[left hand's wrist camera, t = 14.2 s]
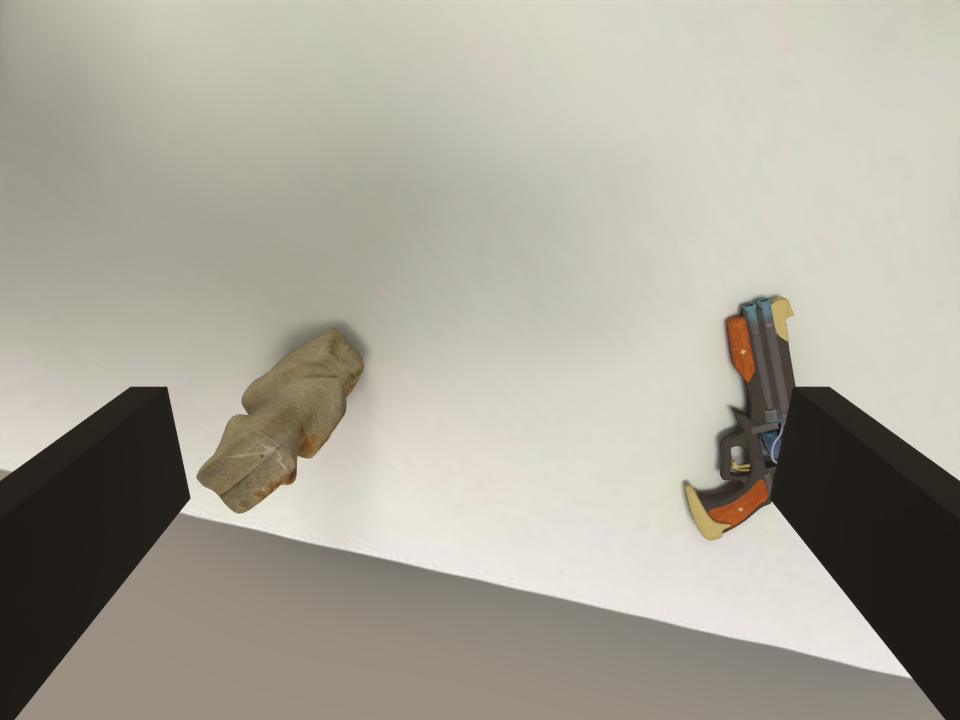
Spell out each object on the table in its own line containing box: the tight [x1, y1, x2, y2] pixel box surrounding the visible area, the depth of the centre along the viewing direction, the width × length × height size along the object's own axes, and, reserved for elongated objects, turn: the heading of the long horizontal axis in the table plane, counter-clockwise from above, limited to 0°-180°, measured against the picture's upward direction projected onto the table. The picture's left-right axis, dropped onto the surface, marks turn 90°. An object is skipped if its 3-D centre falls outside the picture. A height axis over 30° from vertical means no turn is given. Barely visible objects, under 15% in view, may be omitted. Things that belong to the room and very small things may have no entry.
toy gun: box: [686, 297, 796, 540], centre depth 45 cm, size 3×19×10 cm
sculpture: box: [197, 328, 364, 514], centre depth 37 cm, size 6×7×15 cm
